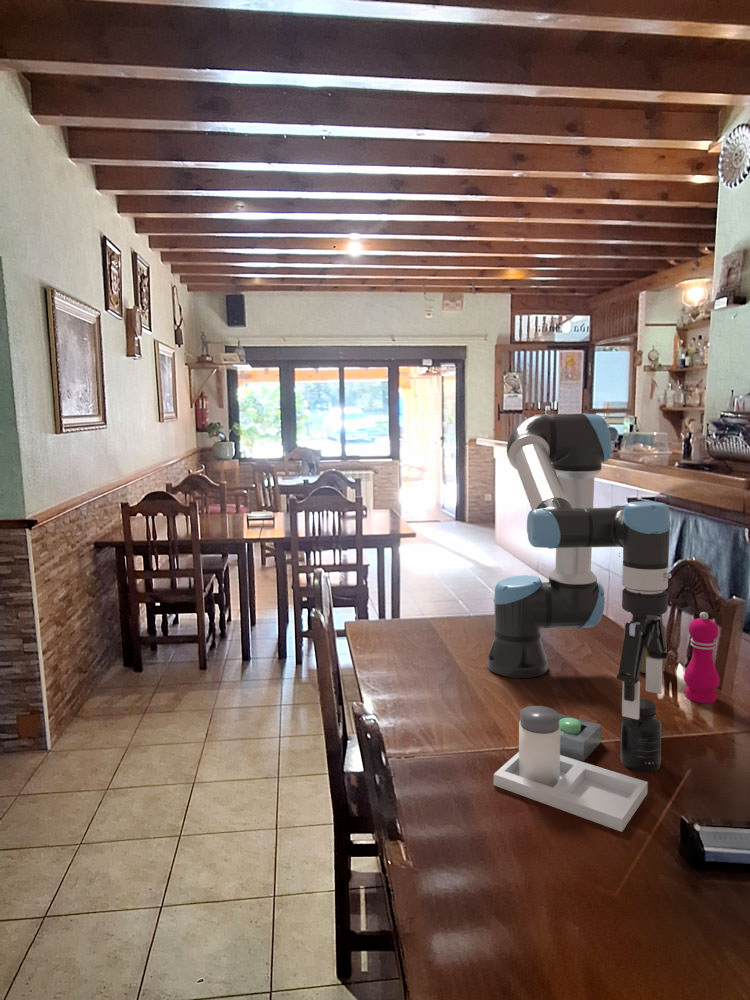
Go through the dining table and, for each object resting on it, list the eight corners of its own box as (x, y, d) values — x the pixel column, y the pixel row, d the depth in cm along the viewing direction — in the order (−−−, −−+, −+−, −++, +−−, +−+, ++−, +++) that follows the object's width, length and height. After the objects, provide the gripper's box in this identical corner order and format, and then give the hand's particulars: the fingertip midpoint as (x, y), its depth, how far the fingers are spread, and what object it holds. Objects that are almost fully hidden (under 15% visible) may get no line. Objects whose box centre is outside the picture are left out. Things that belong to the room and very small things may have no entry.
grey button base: (538, 749, 127) (538, 729, 127) (557, 731, 134) (557, 713, 134) (583, 763, 122) (583, 743, 121) (600, 744, 129) (601, 725, 128)
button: (555, 739, 127) (556, 723, 127) (564, 731, 130) (564, 716, 130) (575, 745, 125) (576, 729, 125) (583, 736, 128) (584, 721, 128)
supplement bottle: (613, 757, 124) (615, 696, 122) (648, 754, 124) (650, 694, 123) (631, 776, 117) (632, 712, 116) (667, 774, 117) (669, 710, 116)
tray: (493, 787, 114) (493, 774, 114) (526, 757, 124) (526, 744, 124) (621, 834, 101) (622, 819, 100) (647, 796, 111) (647, 782, 110)
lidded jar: (512, 781, 115) (512, 715, 114) (529, 764, 121) (529, 702, 119) (549, 794, 111) (550, 726, 110) (566, 776, 116) (566, 711, 115)
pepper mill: (723, 705, 145) (726, 617, 142) (687, 703, 146) (691, 616, 144) (713, 692, 152) (716, 608, 149) (679, 690, 153) (682, 607, 151)
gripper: (645, 607, 105) (643, 735, 107) (685, 578, 124) (682, 686, 126) (598, 600, 109) (597, 723, 111) (644, 573, 129) (642, 678, 131)
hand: (642, 704), depth 119 cm, fingers open, 13 cm apart
